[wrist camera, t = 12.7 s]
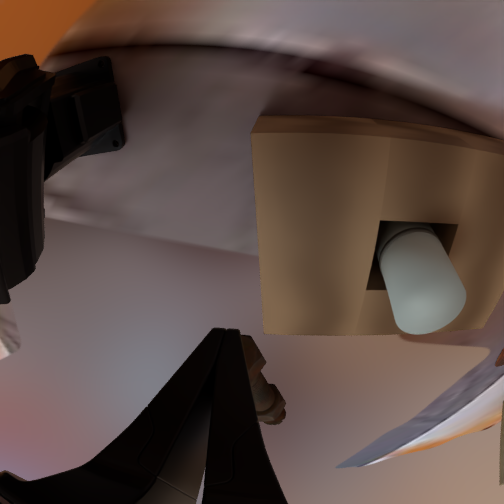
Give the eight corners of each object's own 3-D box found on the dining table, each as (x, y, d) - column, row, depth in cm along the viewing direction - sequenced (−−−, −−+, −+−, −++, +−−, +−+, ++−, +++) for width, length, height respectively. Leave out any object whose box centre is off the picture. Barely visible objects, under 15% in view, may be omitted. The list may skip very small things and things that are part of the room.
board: (268, 294, 25) (263, 334, 22) (259, 115, 17) (250, 133, 13) (467, 294, 23) (482, 328, 19) (517, 144, 14) (550, 167, 11)
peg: (363, 246, 21) (385, 336, 15) (371, 194, 19) (405, 278, 12) (415, 247, 21) (450, 332, 14) (427, 197, 18) (478, 277, 12)
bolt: (270, 391, 39) (229, 325, 30) (302, 405, 36) (270, 341, 27) (246, 425, 36) (192, 369, 27) (277, 442, 32) (232, 392, 24)
